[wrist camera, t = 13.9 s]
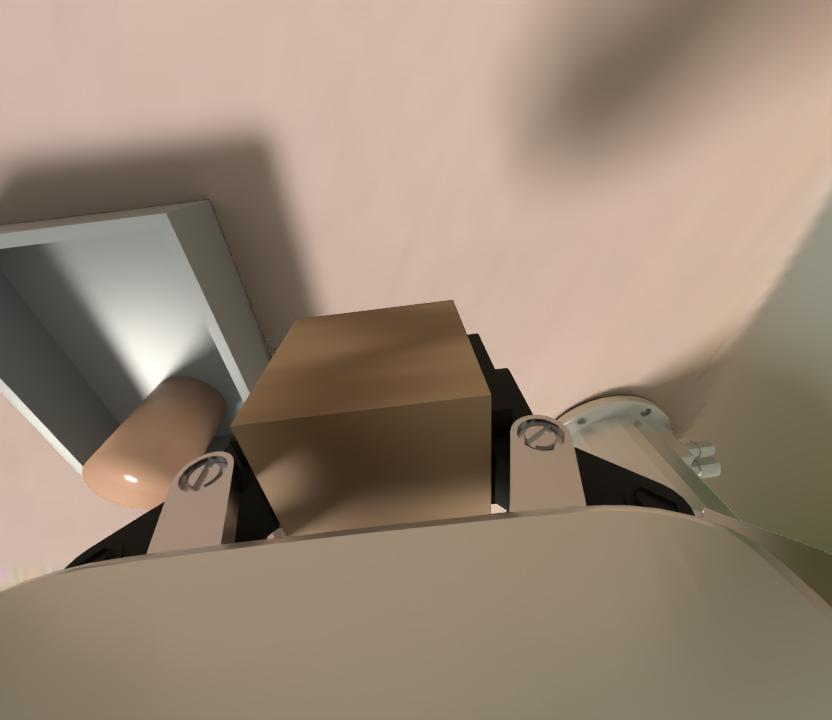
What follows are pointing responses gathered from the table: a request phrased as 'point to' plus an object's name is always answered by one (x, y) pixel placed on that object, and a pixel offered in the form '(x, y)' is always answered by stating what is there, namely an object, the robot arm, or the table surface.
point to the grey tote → (121, 319)
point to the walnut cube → (371, 421)
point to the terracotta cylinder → (156, 443)
